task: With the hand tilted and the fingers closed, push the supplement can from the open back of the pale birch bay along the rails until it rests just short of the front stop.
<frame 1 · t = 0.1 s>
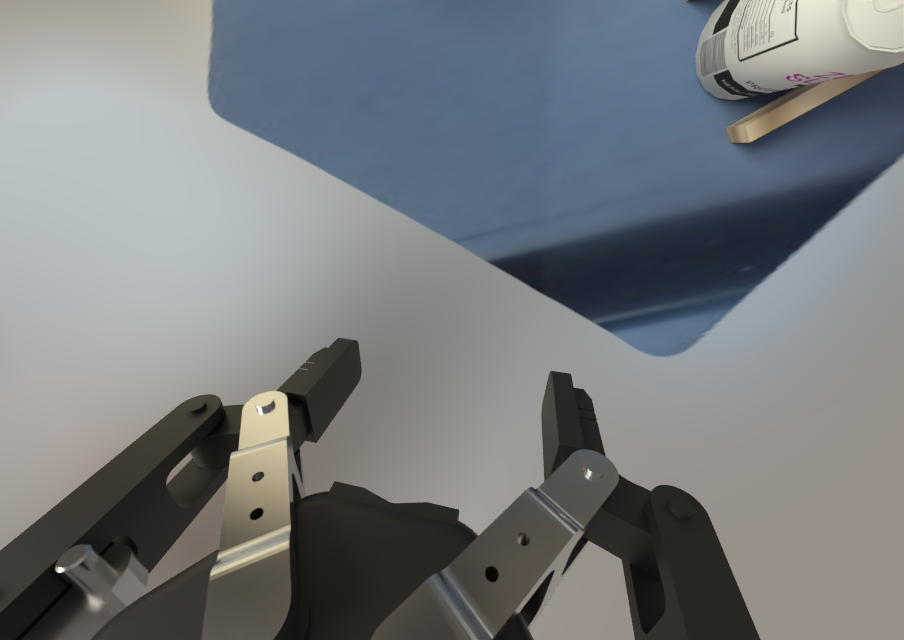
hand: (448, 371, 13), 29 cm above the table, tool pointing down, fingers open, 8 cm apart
bay: (806, 3, 26), on the table
supplement can: (746, 43, 28), on the table
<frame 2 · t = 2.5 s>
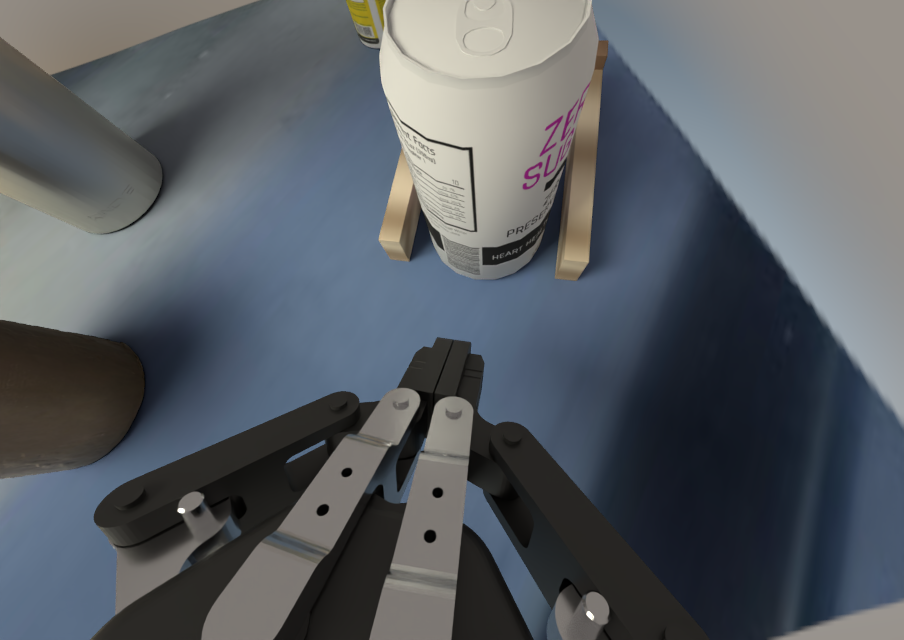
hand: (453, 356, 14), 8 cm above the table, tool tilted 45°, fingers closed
bay: (492, 190, 26), on the table
supplement can: (486, 235, 25), on the table
supplement bottle: (382, 35, 33), on the table
pillar candle: (89, 402, 25), on the table
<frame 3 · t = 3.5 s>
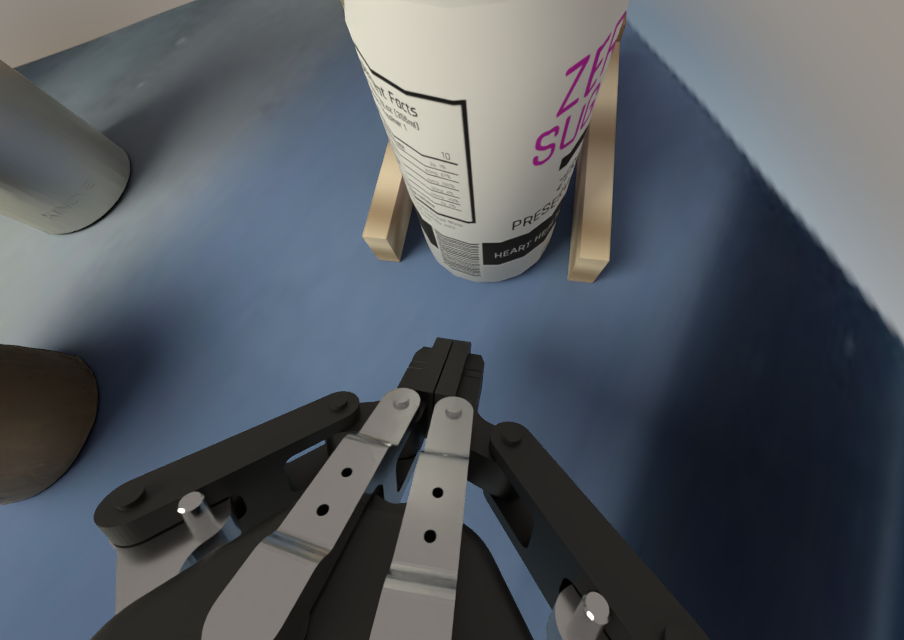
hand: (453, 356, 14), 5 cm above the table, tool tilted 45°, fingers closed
bay: (494, 180, 23), on the table
supplement can: (487, 232, 22), on the table
pillar candle: (36, 424, 22), on the table
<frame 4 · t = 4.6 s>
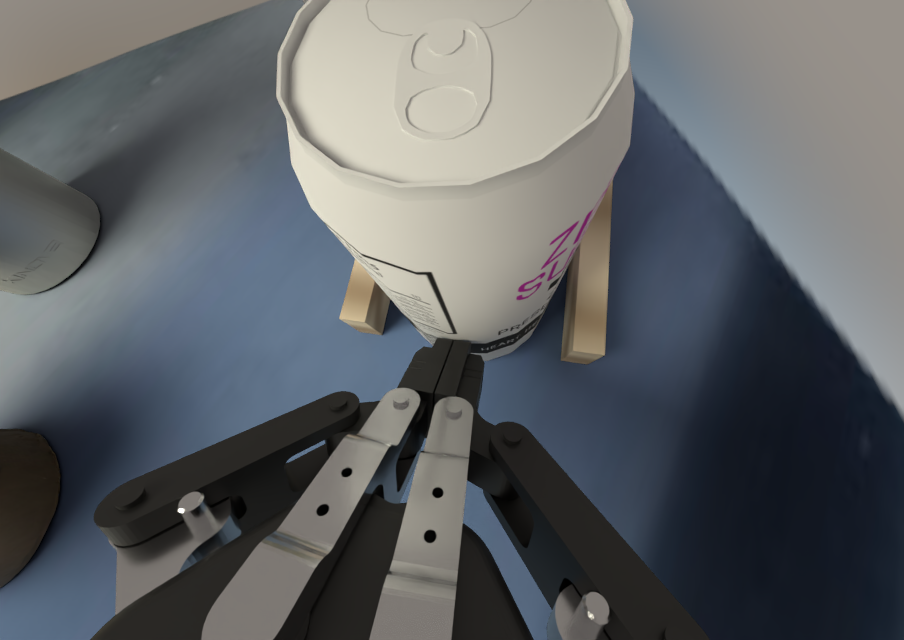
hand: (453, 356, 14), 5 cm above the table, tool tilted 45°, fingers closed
bay: (483, 244, 22), on the table
supplement can: (476, 299, 21), on the table, touching gripper
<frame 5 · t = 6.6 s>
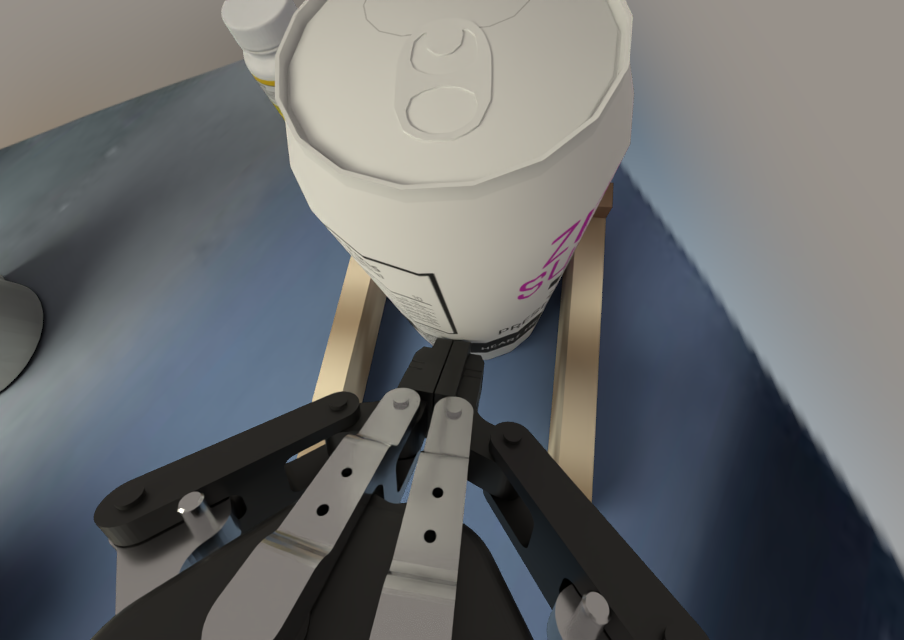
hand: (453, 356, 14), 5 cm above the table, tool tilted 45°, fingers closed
bay: (459, 368, 20), on the table
supplement can: (475, 299, 21), on the table, touching gripper
supplement bottle: (328, 131, 26), on the table
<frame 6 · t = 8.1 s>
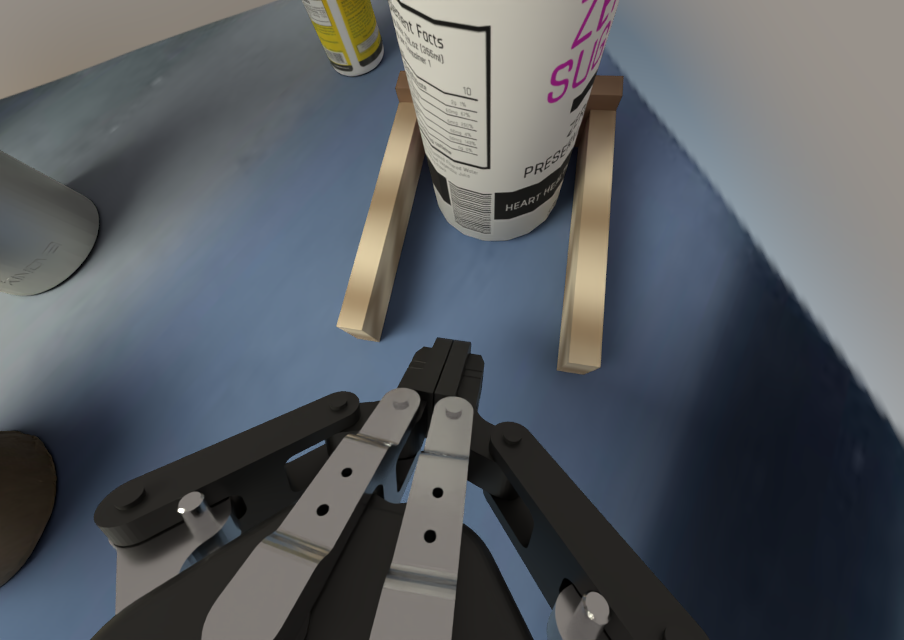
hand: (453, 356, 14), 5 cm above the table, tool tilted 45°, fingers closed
bay: (481, 252, 22), on the table
supplement can: (495, 196, 23), on the table
supplement bottle: (359, 60, 28), on the table
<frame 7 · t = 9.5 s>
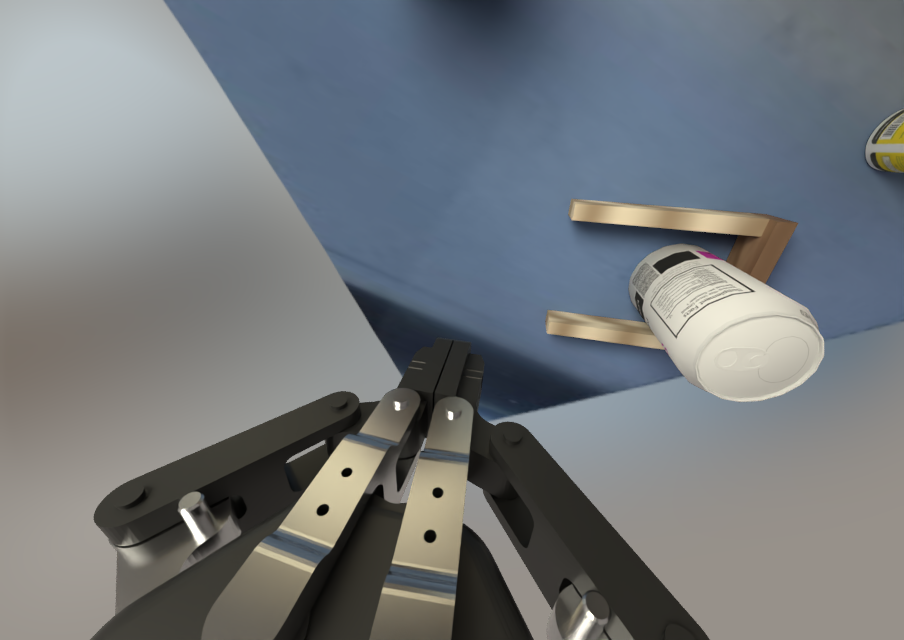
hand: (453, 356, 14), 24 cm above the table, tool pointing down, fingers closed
bay: (624, 272, 35), on the table
supplement can: (668, 279, 35), on the table
supplement bottle: (898, 138, 26), on the table
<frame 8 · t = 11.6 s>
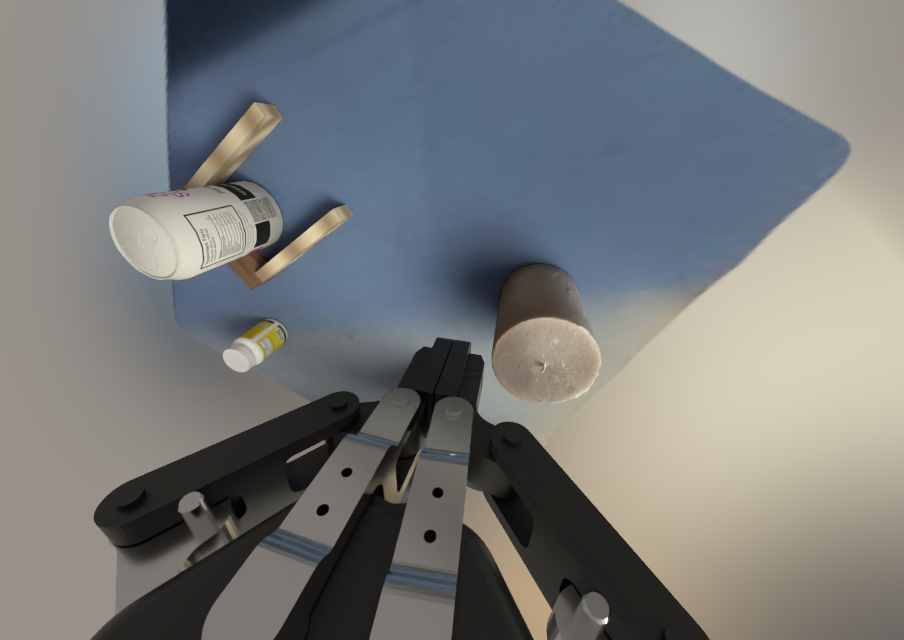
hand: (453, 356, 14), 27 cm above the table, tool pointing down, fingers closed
bay: (280, 196, 41), on the table
supplement can: (259, 213, 44), on the table
supplement bottle: (276, 330, 53), on the table
pillar candle: (539, 299, 41), on the table
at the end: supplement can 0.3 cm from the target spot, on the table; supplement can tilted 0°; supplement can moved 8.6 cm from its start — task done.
